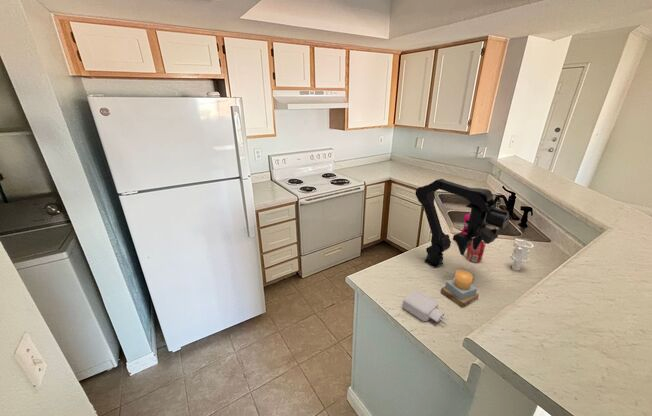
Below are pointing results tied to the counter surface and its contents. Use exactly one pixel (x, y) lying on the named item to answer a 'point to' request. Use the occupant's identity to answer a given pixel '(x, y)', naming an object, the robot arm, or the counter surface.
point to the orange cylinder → (463, 280)
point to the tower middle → (460, 290)
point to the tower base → (455, 299)
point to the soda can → (475, 252)
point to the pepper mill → (465, 223)
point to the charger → (423, 307)
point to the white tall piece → (520, 253)
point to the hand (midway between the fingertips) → (468, 252)
